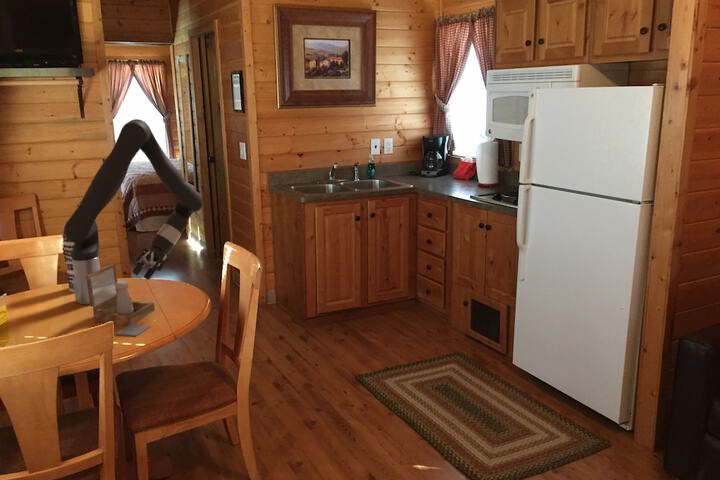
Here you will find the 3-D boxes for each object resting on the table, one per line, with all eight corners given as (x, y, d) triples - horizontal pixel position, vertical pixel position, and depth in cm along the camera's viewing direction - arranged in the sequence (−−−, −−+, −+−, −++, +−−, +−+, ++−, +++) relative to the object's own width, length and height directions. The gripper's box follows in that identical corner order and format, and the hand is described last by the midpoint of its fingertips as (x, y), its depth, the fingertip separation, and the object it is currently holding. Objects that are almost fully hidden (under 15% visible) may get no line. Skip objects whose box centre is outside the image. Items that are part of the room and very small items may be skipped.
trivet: (114, 334, 200) (114, 333, 200) (129, 325, 208) (129, 324, 208) (136, 336, 198) (136, 335, 198) (150, 327, 206) (149, 325, 206)
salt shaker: (119, 313, 219) (115, 279, 216) (136, 312, 219) (131, 278, 216) (114, 319, 213) (110, 284, 210) (131, 318, 214) (127, 283, 210)
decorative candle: (95, 289, 246) (86, 229, 240) (70, 293, 241) (61, 232, 235) (90, 283, 254) (82, 225, 247) (66, 287, 249) (57, 228, 242)
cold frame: (92, 322, 211) (86, 276, 207) (118, 307, 225) (112, 263, 221) (131, 325, 208) (125, 278, 203) (155, 310, 221) (150, 265, 217)
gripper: (148, 230, 225) (123, 267, 220) (168, 236, 216) (142, 274, 211) (163, 241, 230) (138, 277, 225) (183, 247, 221) (157, 285, 216)
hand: (140, 276), depth 218 cm, fingers open, 8 cm apart
